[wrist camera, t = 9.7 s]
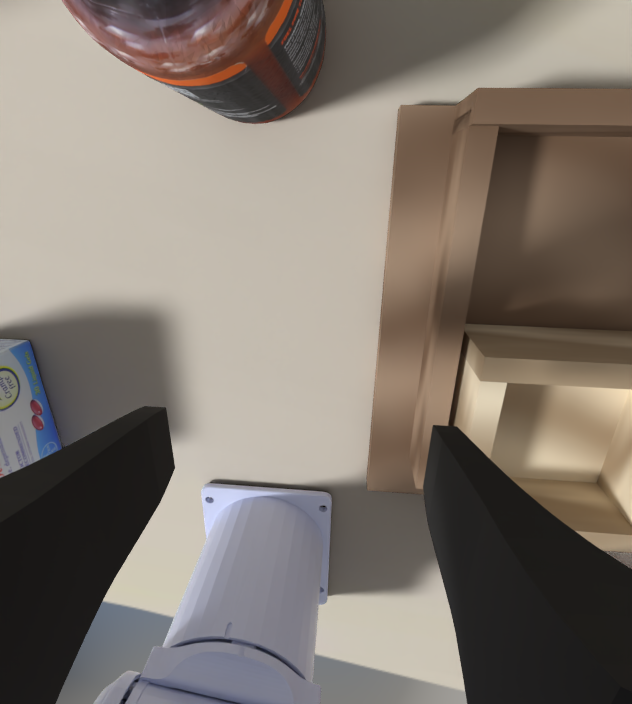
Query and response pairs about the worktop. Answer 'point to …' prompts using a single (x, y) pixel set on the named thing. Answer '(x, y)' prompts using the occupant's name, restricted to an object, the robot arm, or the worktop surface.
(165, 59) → the supplement bottle
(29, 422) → the medicine box
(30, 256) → the worktop surface
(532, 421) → the drawer
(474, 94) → the bay
